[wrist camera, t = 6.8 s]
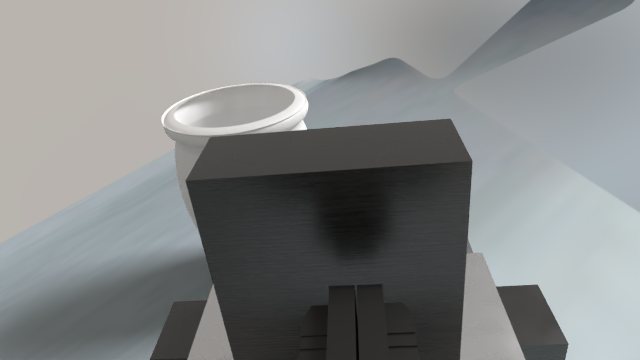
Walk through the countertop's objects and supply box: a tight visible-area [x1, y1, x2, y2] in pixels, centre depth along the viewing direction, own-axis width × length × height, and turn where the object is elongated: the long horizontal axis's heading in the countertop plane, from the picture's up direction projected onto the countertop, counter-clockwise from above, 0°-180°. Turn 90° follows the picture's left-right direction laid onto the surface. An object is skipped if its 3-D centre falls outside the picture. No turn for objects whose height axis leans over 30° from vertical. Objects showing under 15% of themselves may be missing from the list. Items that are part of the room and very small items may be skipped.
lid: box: [185, 119, 525, 360], centre depth 17 cm, size 14×14×11 cm
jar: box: [162, 83, 308, 235], centre depth 39 cm, size 11×10×15 cm
